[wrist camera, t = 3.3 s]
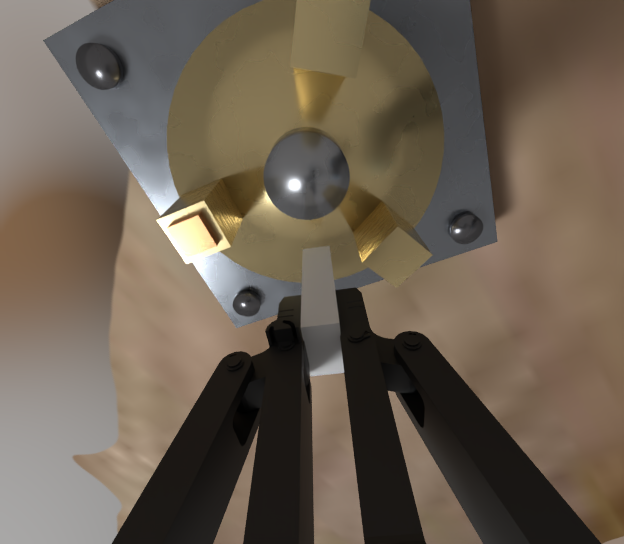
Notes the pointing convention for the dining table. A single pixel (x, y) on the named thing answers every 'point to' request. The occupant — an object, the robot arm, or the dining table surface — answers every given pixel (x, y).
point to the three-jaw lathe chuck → (304, 142)
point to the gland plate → (165, 74)
